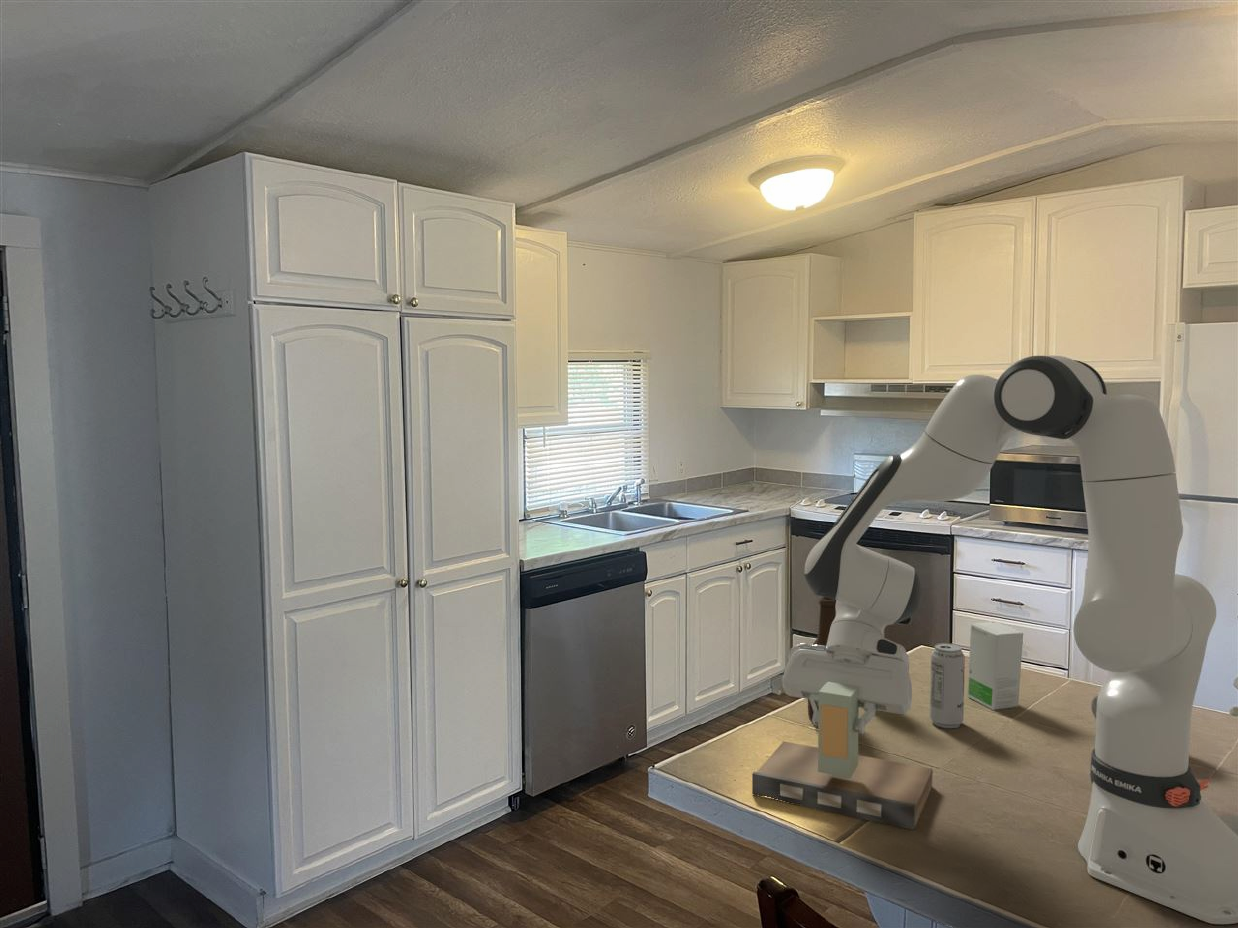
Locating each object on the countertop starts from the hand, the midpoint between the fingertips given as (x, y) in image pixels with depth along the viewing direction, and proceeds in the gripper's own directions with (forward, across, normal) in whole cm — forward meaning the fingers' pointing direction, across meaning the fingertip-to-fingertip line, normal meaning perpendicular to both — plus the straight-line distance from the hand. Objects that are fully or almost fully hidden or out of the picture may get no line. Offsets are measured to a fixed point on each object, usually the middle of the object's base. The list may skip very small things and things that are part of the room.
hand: (837, 727), depth 142 cm
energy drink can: (-20, +10, +37) cm, 43 cm away
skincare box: (-31, +17, +48) cm, 60 cm away
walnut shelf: (+6, 0, +11) cm, 12 cm away
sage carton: (+4, 0, +5) cm, 7 cm away
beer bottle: (-14, -10, +31) cm, 36 cm away
